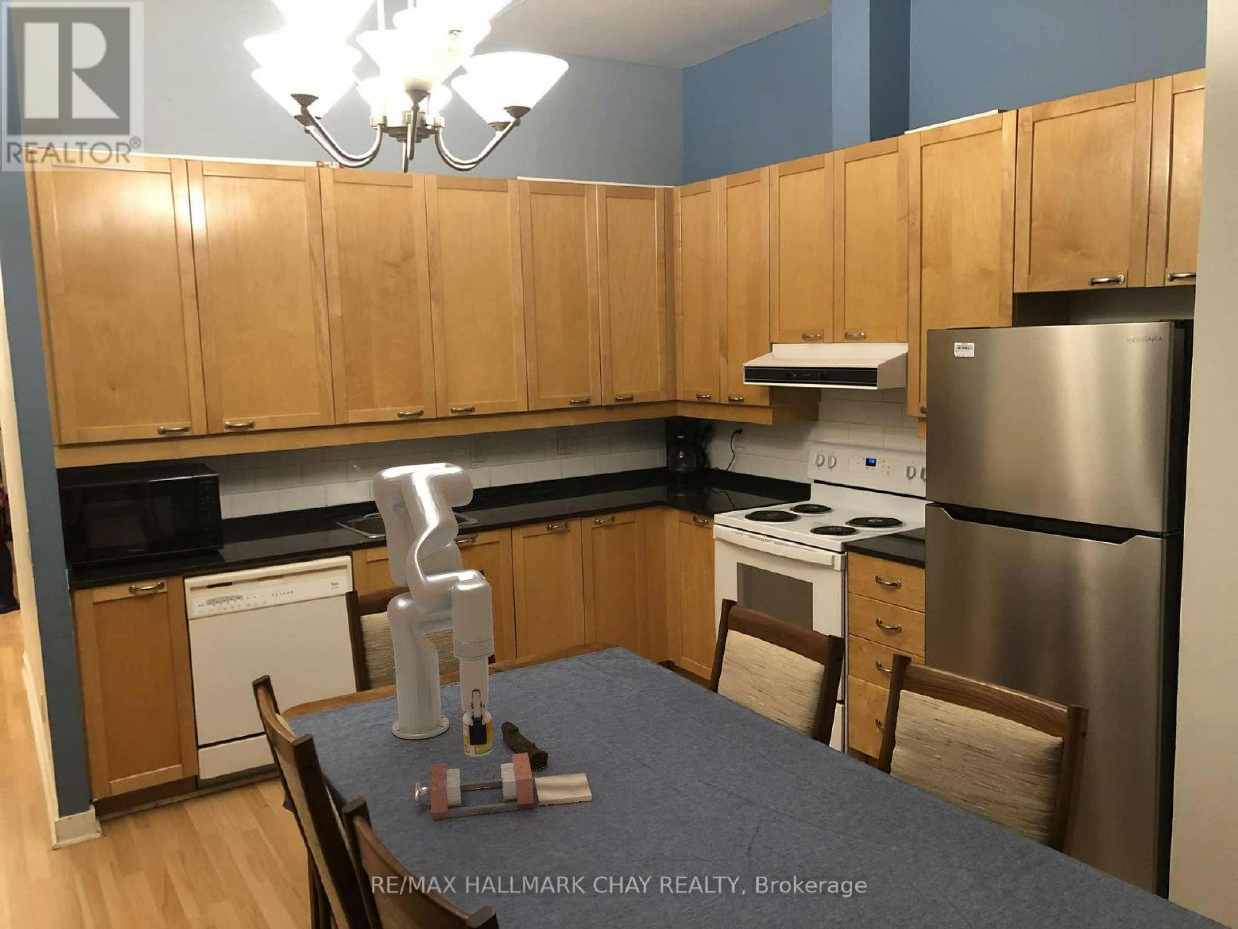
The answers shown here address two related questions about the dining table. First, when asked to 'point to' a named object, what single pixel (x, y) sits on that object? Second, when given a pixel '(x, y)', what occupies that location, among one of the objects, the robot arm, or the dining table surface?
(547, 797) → the birch board
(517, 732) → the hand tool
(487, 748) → the supplement bottle
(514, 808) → the vise
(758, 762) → the dining table surface
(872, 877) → the dining table surface
